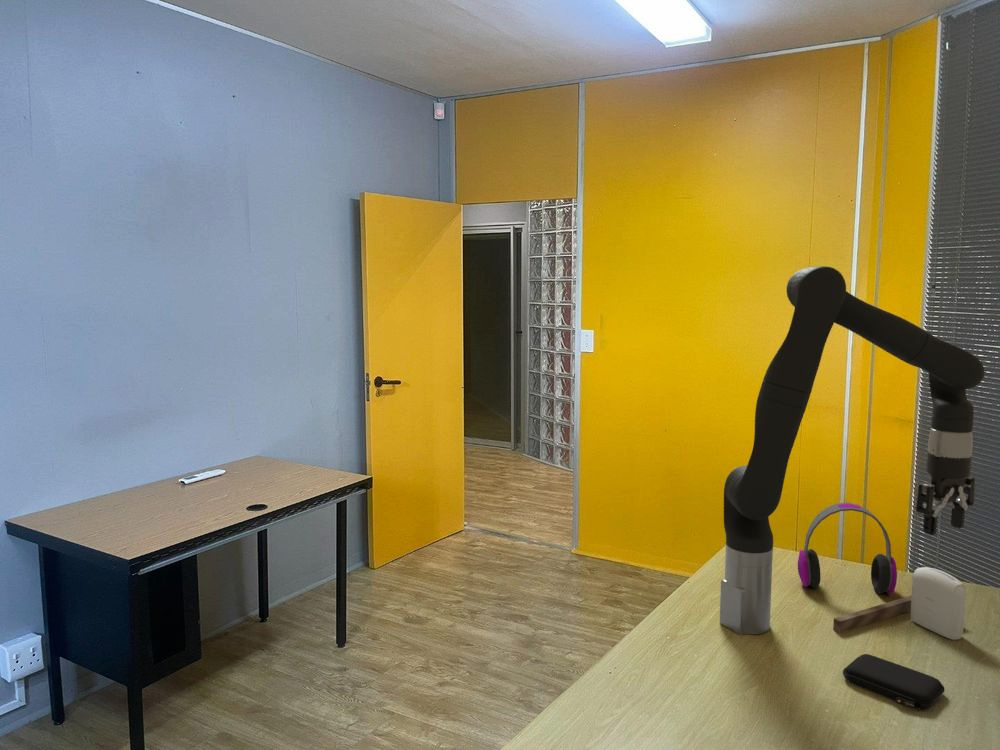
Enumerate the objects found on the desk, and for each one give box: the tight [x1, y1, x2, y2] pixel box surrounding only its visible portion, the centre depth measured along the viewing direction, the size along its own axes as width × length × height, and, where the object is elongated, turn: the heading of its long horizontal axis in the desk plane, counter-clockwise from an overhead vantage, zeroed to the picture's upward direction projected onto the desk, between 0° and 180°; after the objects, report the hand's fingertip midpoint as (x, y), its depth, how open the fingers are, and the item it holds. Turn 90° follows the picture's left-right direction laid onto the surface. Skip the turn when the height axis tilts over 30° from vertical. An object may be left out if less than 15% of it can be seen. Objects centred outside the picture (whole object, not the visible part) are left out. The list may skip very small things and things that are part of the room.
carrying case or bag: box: [842, 653, 946, 711], centre depth 131 cm, size 11×3×15 cm
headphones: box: [797, 502, 898, 595], centre depth 171 cm, size 21×9×20 cm, turn 77°
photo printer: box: [910, 566, 967, 641], centre depth 152 cm, size 10×4×12 cm, turn 21°
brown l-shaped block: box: [832, 594, 912, 634], centre depth 153 cm, size 25×10×3 cm, turn 116°
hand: (943, 530), depth 150 cm, fingers open, 8 cm apart
